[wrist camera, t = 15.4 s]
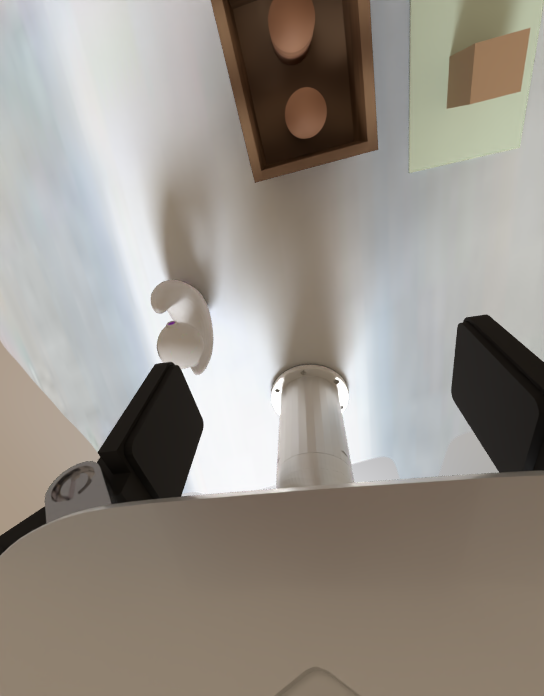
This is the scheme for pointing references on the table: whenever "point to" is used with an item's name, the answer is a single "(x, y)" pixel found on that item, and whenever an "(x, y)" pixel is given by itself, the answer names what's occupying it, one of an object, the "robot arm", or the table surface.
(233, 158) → the table surface
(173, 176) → the table surface
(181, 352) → the toy
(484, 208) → the table surface
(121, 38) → the table surface
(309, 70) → the box
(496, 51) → the lid
